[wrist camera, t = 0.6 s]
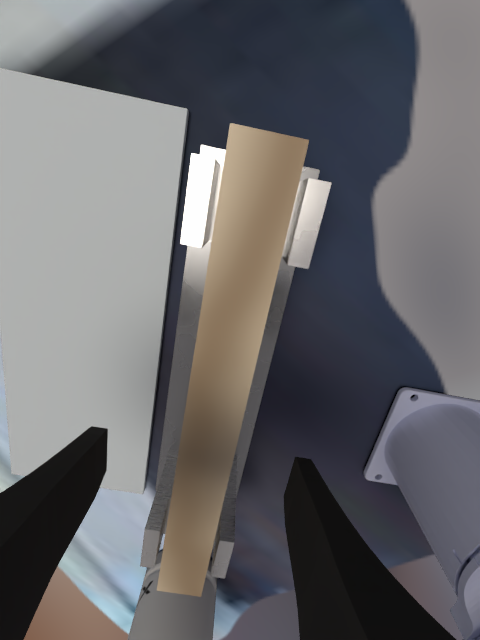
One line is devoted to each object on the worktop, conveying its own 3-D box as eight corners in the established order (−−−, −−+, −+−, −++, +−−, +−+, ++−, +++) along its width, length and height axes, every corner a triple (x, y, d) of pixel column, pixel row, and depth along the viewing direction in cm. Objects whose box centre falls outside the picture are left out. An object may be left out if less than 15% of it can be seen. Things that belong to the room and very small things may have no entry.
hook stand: (315, 171, 17) (358, 154, 10) (235, 488, 25) (232, 590, 18) (203, 148, 17) (177, 115, 10) (159, 476, 25) (128, 576, 18)
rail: (297, 151, 12) (309, 140, 10) (206, 550, 20) (200, 596, 18) (233, 137, 12) (230, 122, 10) (167, 545, 20) (156, 590, 18)
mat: (188, 111, 16) (187, 108, 16) (144, 488, 25) (142, 494, 25) (-13, 67, 16) (-21, 63, 15) (16, 468, 25) (11, 473, 24)
